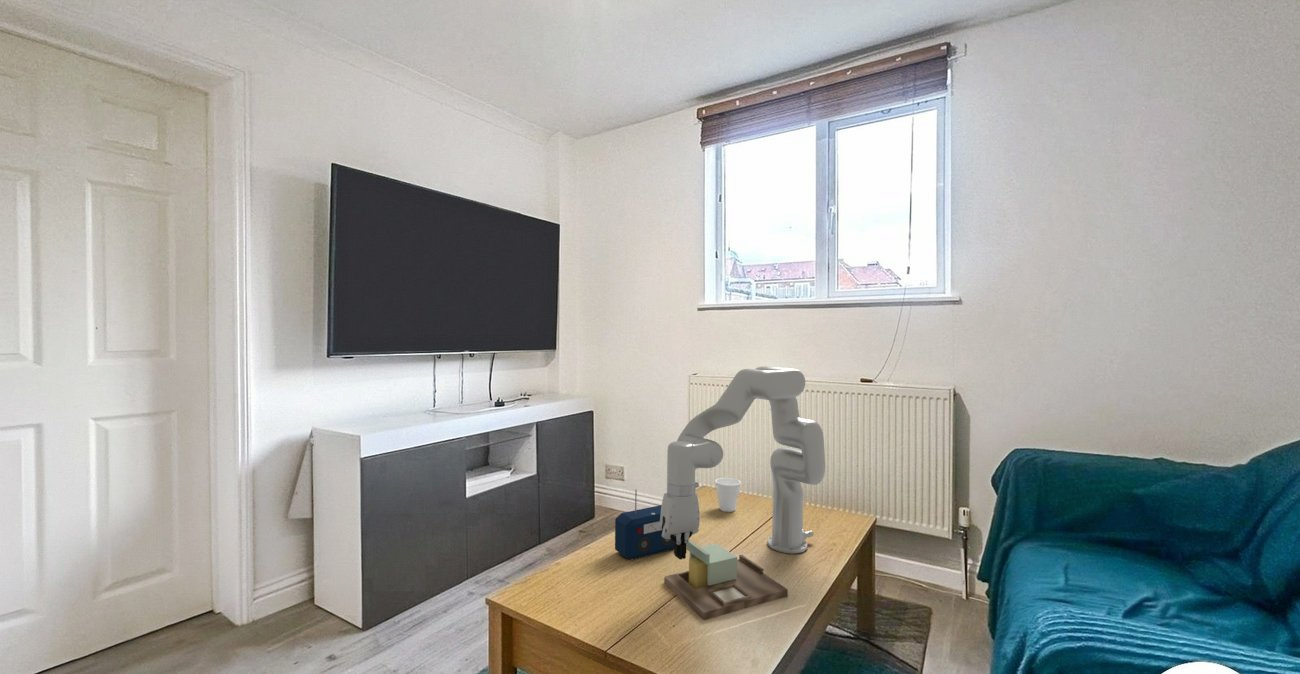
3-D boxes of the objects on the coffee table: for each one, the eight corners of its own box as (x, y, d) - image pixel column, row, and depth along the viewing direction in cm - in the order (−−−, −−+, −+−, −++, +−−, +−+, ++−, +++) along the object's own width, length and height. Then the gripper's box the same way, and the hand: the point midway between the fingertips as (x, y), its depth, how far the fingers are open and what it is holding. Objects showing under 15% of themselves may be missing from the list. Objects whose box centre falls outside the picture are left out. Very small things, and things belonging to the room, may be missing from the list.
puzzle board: (741, 565, 154) (741, 554, 154) (787, 596, 137) (787, 584, 137) (664, 583, 143) (664, 572, 143) (703, 620, 125) (704, 607, 125)
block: (701, 580, 145) (701, 556, 144) (709, 586, 141) (709, 561, 141) (688, 583, 143) (689, 558, 143) (696, 590, 139) (696, 564, 139)
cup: (714, 513, 198) (714, 484, 198) (715, 504, 208) (715, 477, 207) (740, 515, 196) (740, 486, 196) (740, 506, 206) (740, 478, 206)
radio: (627, 563, 155) (628, 496, 155) (613, 552, 162) (614, 488, 162) (684, 548, 166) (685, 486, 166) (669, 538, 173) (669, 479, 173)
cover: (716, 563, 150) (716, 534, 150) (736, 578, 141) (737, 547, 141) (686, 570, 146) (686, 540, 146) (705, 586, 137) (706, 554, 137)
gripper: (697, 481, 145) (696, 546, 146) (649, 488, 139) (648, 556, 139) (712, 489, 139) (711, 557, 139) (662, 496, 132) (661, 568, 132)
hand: (680, 557), depth 139 cm, fingers closed
